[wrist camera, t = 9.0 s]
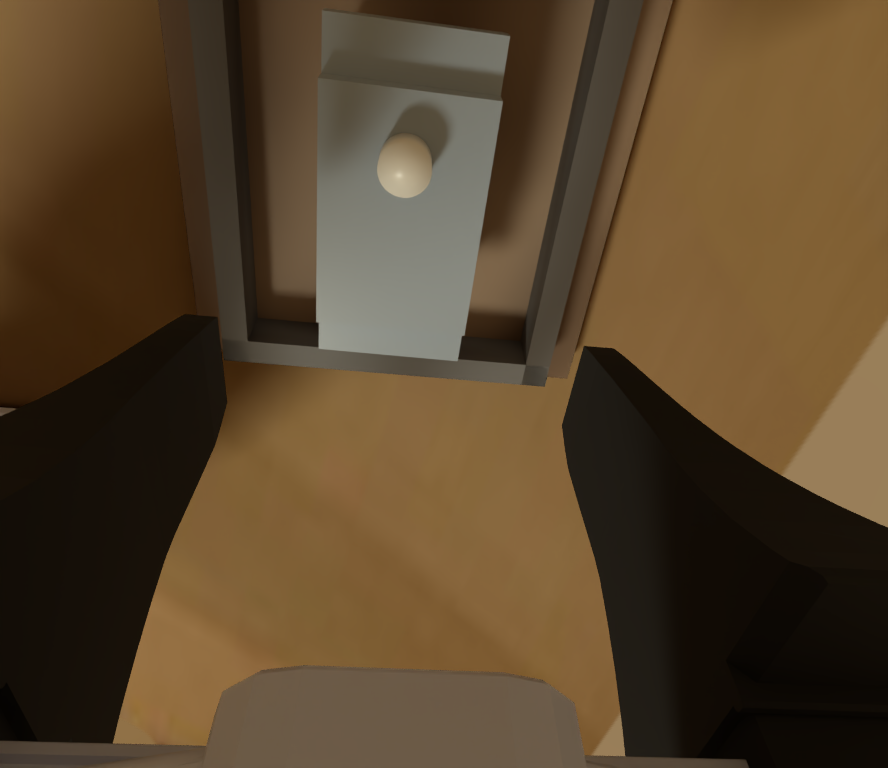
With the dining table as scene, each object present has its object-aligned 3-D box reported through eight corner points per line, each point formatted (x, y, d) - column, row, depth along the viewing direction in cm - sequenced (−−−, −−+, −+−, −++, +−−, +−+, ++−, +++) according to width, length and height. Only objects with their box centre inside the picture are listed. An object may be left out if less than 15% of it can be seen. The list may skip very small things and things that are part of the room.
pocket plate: (209, 332, 23) (188, 372, 21) (150, -183, 15) (106, -201, 13) (562, 363, 24) (575, 403, 22) (687, -101, 16) (725, -106, 14)
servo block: (333, 292, 21) (311, 375, 17) (340, -4, 16) (312, 16, 12) (453, 304, 21) (459, 388, 17) (495, 18, 16) (517, 45, 12)
